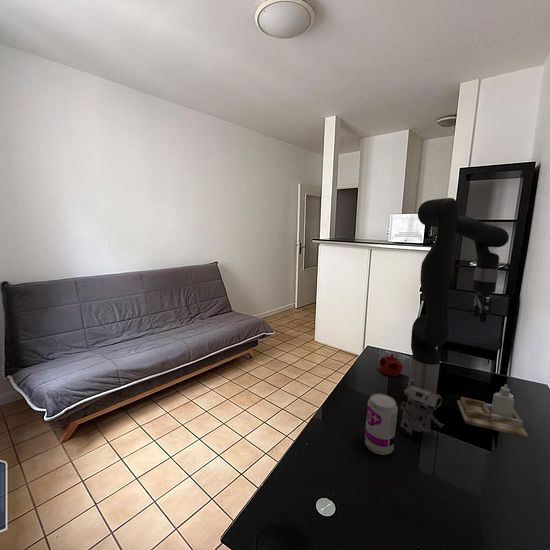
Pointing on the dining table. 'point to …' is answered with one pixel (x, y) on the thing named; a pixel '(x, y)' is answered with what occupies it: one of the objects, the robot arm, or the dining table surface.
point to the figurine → (419, 410)
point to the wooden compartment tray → (489, 417)
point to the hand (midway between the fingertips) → (479, 319)
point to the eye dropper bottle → (503, 403)
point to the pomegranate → (390, 365)
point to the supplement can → (381, 424)
